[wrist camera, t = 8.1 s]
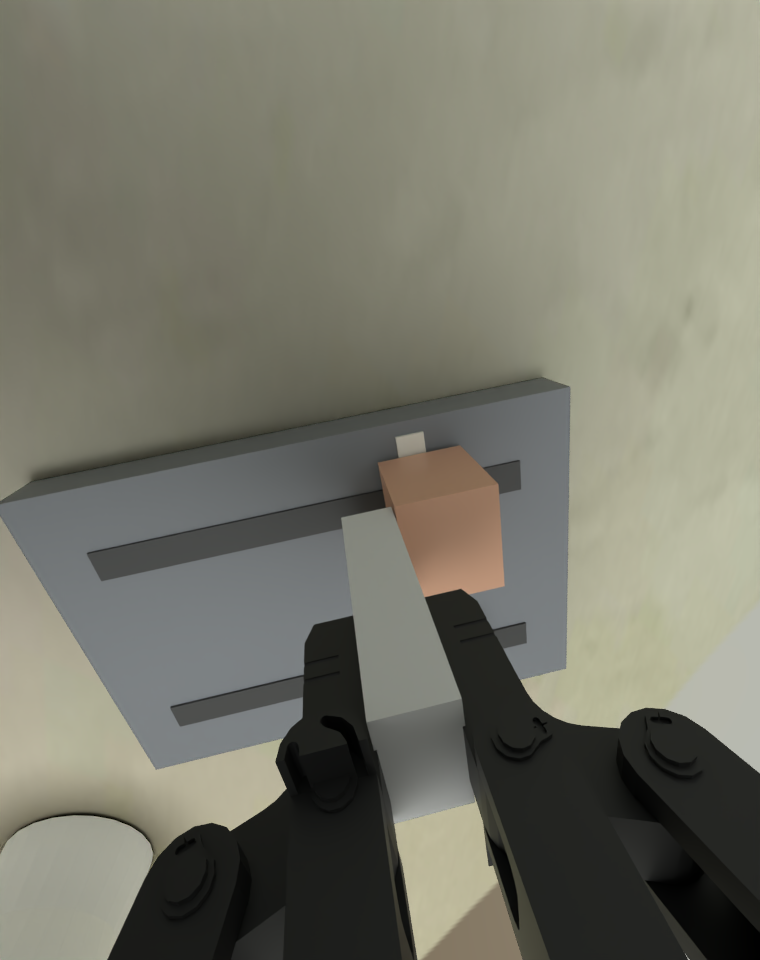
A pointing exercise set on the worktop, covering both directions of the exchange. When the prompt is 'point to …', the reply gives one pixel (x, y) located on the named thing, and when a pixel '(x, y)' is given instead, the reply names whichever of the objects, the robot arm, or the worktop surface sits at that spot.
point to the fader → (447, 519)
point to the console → (279, 557)
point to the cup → (69, 887)
